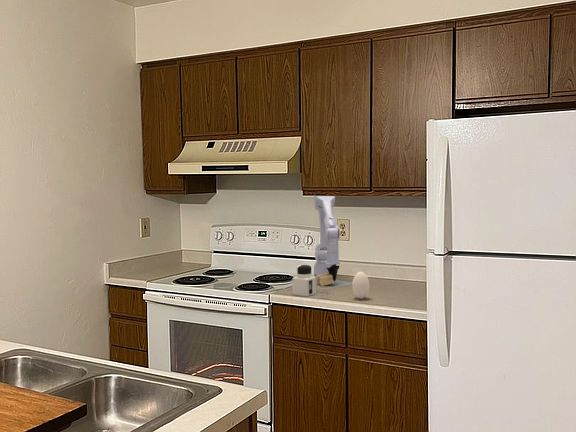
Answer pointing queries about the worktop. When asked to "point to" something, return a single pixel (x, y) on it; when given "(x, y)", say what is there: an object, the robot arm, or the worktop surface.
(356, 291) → the egg
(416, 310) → the worktop surface
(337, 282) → the board
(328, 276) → the oak block
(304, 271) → the container
